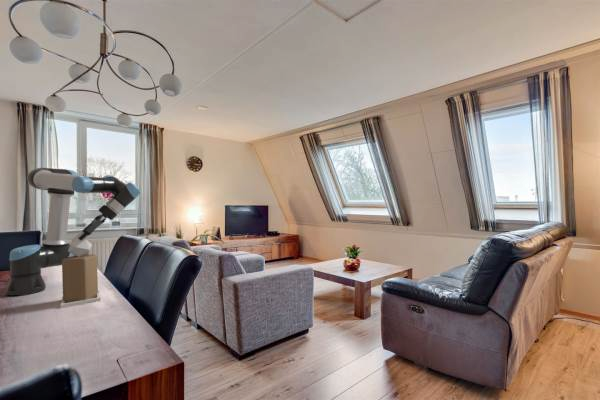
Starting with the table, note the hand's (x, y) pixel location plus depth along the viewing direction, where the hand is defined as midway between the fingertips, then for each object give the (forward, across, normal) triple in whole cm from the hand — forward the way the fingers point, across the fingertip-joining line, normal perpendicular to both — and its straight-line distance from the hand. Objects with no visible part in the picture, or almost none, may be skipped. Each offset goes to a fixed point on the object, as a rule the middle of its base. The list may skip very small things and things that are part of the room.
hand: (73, 243), depth 137 cm
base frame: (+17, 0, +20) cm, 26 cm away
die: (+3, 0, +6) cm, 7 cm away
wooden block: (+17, 0, +20) cm, 26 cm away
